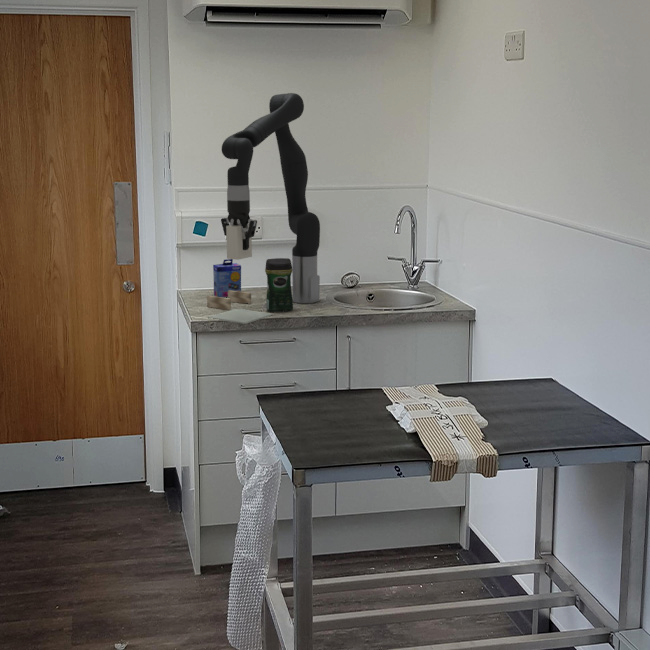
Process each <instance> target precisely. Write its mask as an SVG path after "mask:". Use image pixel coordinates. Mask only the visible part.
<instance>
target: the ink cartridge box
mask: <svg viewBox="0 0 650 650" xmlns="http://www.w3.org/2000/svg"><path fill="white" fill-rule="evenodd" d="M233 260H234V259H227V258H226V259H223V262H222V263H218V264H212V268H213V296H215V297H223V298H225V297H227V298H228V290H231V291H239V292H242V265H241V264H239V263H237V262H234V263H233Z"/></svg>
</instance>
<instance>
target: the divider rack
mask: <svg viewBox="0 0 650 650" xmlns="http://www.w3.org/2000/svg"><path fill="white" fill-rule="evenodd" d="M206 302H207V303H206V306H207V308H211V307H212V308H213V309H220V310H225V309H226V310H227V311H230V310H232V303H237V302H239V303H238V304H244V303H248V304H247V305H251V304H252V293H251V292H244V291H241V292H239V291H231V290H228V297H227V298H223V297H215V296H214V295H207V296H206ZM226 310H225V311H226Z"/></svg>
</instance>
